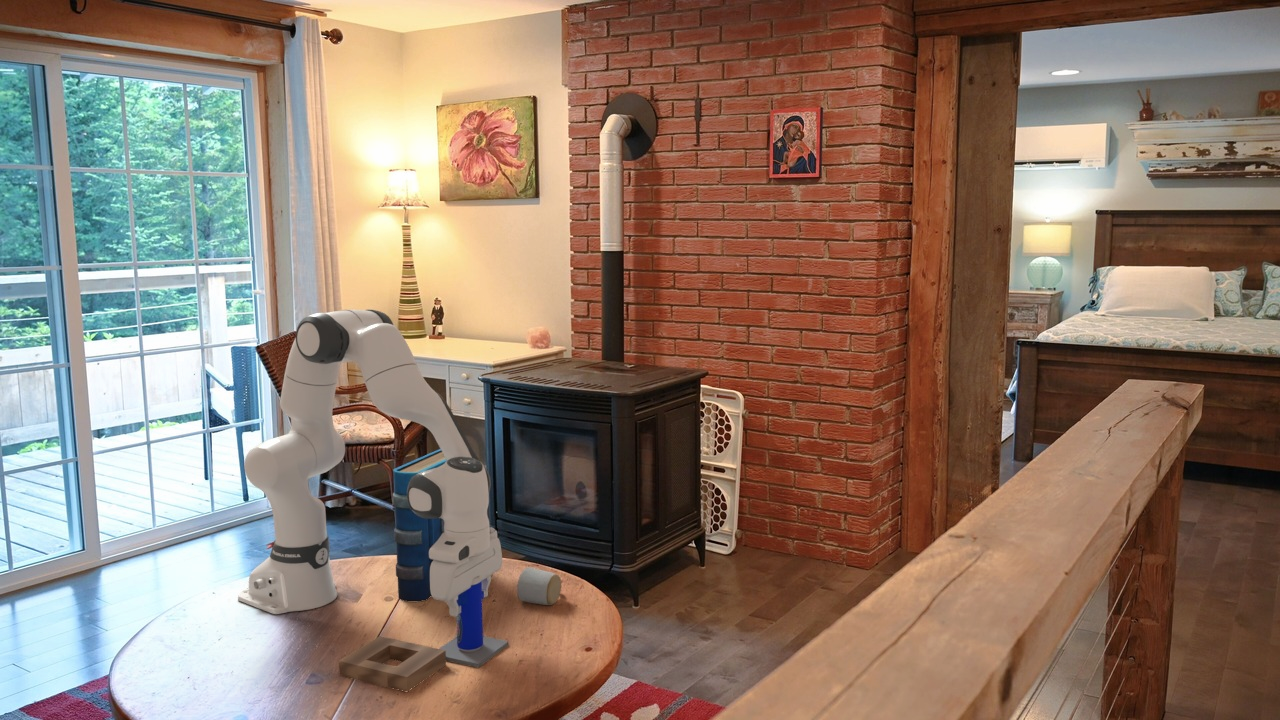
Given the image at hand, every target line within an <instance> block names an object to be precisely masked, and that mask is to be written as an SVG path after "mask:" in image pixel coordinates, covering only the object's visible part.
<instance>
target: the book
mask: <svg viewBox="0 0 1280 720" xmlns="http://www.w3.org/2000/svg"><path fill="white" fill-rule="evenodd" d="M446 461H447V460H446V458H445V456H444V454H443V452H442V450H441V449H440V448H439V449H437V450H435V451H433V452H430V453H428V454H426V455H424V456H420V457H419V458H417V459H413V460H411V461H410V462H407V463H405V464H402V465H401V466H398V467H396V468H393V469H392V471H393V493H392V505H393V506H394V517H395V519H394V521H395V527H394V530H393V532H394V533H393V536H394V542H395V544H396V545H395V546H396V547H395V548H396V564H395V576H396V577H397V593H398V594H397V595H398V596H397V597H398V599H399V600H400V599H401V600H400V601H403V600H404V602H408V601H421V602H423V601H422V600H425V601H427V600H429V599H430V598H431V597H430V596H432V595H431V591H430V566H431V563H432V561H433V559H430V558H429V550H430V548H431V547H432V546H433V545H434V544H435V543H436V542H437V540H438V539H439V538H440V536H441V535H442V533H444V520H443V519H441V518H436V519H426V518H421V517H419V516H418V515H416V514H415V513H414V512H413V511H412V510H411V508H410V506H409V503H408V499H407V488H408V484H409V482H410V480H411V478H412V477H413V476H414V475H416V474H418V473H421V472H423V471H427V470H430V469H434V468H437V467H440V466H442V465H443V464H445V462H446ZM429 597H430V598H429ZM428 598H429V599H428ZM426 599H427V600H426Z"/></svg>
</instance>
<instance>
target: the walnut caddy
mask: <svg viewBox="0 0 1280 720" xmlns="http://www.w3.org/2000/svg"><path fill="white" fill-rule="evenodd" d="M390 660H391V661H395V660H396V662H400V661H401V662H400V663H399V664H398V665H396V666H394V665H390V664H386V663H387V662H388V661H390ZM446 665H447V661H446V650H442V649H439V648H436V647H432V646H428V645H422V644H417V643H413V642H409V641H405V640H404V641H403V640H399V639H395V638H390V637H386V636H382V635H381V636H380V635H379V636H378V637H375V638H374V639H372V640H371V641H370V642H368V643H366V644H364V645H362V646H361V647H359V648H358V649H356V650H355V651H352V652H351V653H350V654H348V655H346V656H344V657H342V658H341V659H339V660H338V676H339V677H343V678H347V679H350V680H355V681H359V682H364V683H367V684H372V685H374V686H375V685H376V686H380V687H385V688H387V687H388V688H389V689H392V688H394V689H393V690H396V689H399V690H398V691H400V690H403V691H402V692H404V691H409V690H410V689H411V688H413V687H414V686H416V685H417V684H419V683H420V682H421V683H422V681H423V680H424V681H426V680H427V679H428V678H430V677H431V676H433V675H434V674H435V673H437V672H438V671H440V670H441V669H443V668H444V667H445V666H446ZM439 669H440V670H439ZM436 671H437V672H436ZM432 674H433V675H432ZM429 676H430V677H429ZM426 678H427V679H426ZM425 679H426V680H425ZM424 681H423V682H424ZM421 683H420V684H421ZM420 684H419V685H420ZM417 686H418V685H417ZM417 686H416V687H417ZM414 688H415V687H414ZM414 688H413V689H414ZM411 690H412V689H411ZM411 690H410V691H411ZM410 691H409V692H410Z"/></svg>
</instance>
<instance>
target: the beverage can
mask: <svg viewBox="0 0 1280 720" xmlns="http://www.w3.org/2000/svg"><path fill="white" fill-rule="evenodd" d="M456 601H457V604H458V605H460V606H461V614H459V615H458V616H456V618H455V619H456V620H455V621H456V637H457V646H458V648H459V649H460V650H461V651H464V652H473V651H477V650H479V649H480V648H481V647H482V645H483V636H484V627H483V626H484V624H483V621H484V620H483V599H482V581H481V577H480V575H479V576H478V577H477V578H475V579H473V580H472V584H471V587H470V588H469V589H467V590H466V591H464V592H463V593H461V594H459V595H458V600H456Z"/></svg>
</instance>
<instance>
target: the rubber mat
mask: <svg viewBox="0 0 1280 720" xmlns="http://www.w3.org/2000/svg"><path fill="white" fill-rule="evenodd" d="M509 642H510V641H508V640H506V639H505V640H504V639H498V638H496V637H488V636H485V635H483V645H482V647H481V648H480V649H479V650H477V651H473V652H464V651H461V650H460V649H459V648H458V646H457V636H455V637H454V638H452V639H451V640H449V642H447V643H445V644H444V645H442V646H441V647H439V648H438V649H442V650H446V662H450V663H454V664H455V663H456V664H460V665H464V666H469V667H472V666H473V668H477V669H479V668H480V667H482V666H483V665H484V664H485V663H487V662H488V661H489V660H490V659H493V657H496V655H498V654H499V653H500V652H502V651H503V650H504V649H505V648H507V647H508V646H509V644H510V643H509Z"/></svg>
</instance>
